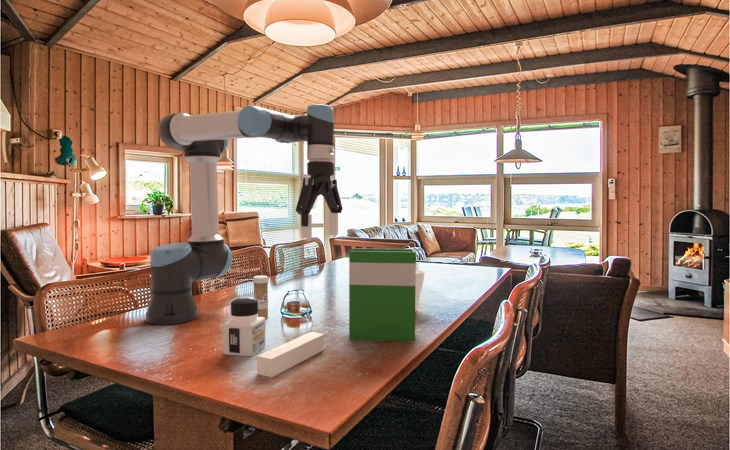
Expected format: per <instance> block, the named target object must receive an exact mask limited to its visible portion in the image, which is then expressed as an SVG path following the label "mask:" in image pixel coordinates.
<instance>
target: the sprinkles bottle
mask: <svg viewBox="0 0 730 450" xmlns="http://www.w3.org/2000/svg"><path fill="white" fill-rule="evenodd" d="M252 279H253V280H252V281H253V298H254V299H256V300H257V301H258V317H265V320H266V319H268V318H269V295H268V289H269V288H268V284H269V276H267V275H254V276H253V278H252Z"/></svg>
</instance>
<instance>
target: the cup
mask: <svg viewBox="0 0 730 450" xmlns="http://www.w3.org/2000/svg"><path fill="white" fill-rule="evenodd" d="M424 278H425V271H424V270H422V269H416V284H415V313H416V312H417V311H418V308H419V307H418V306H419V302H420V301H419V300H420V297H421V292H422V289H423V285H424V280H425V279H424Z"/></svg>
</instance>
